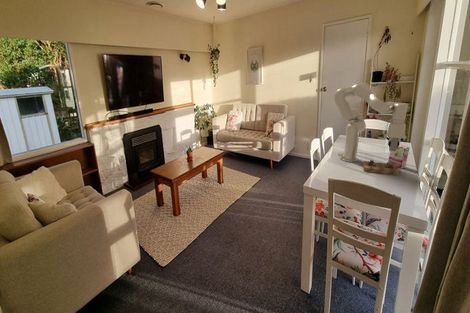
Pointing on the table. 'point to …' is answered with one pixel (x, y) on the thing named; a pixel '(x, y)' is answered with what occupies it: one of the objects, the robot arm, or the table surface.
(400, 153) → the candy bar box
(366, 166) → the socket board
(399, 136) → the robot arm
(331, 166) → the table surface
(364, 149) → the table surface
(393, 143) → the plug
